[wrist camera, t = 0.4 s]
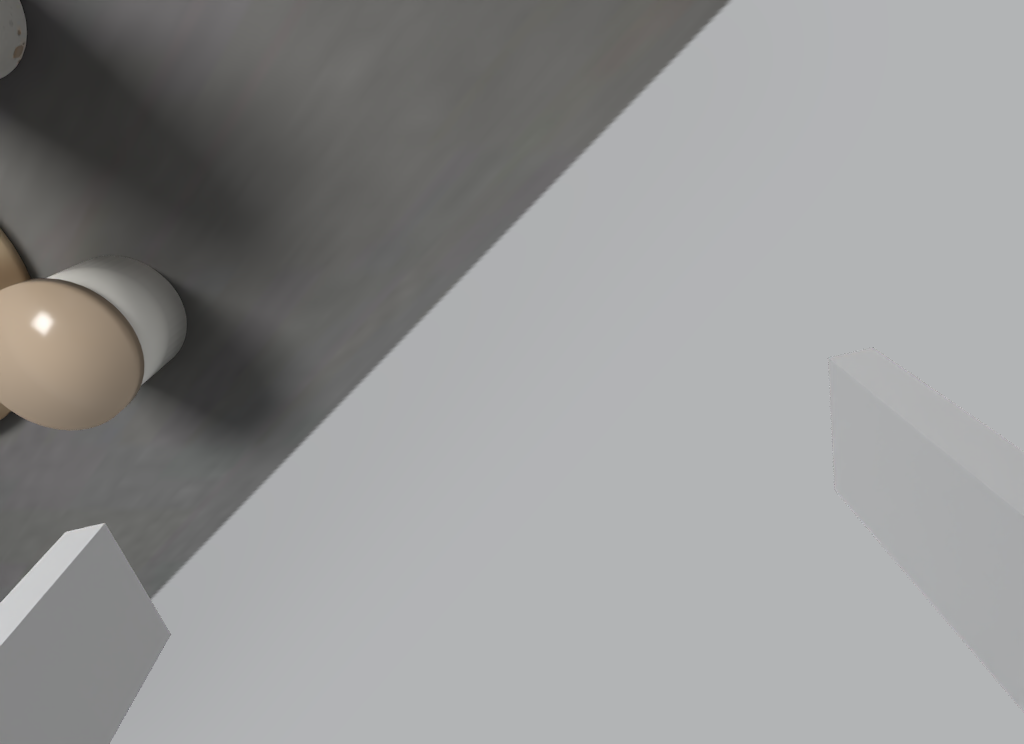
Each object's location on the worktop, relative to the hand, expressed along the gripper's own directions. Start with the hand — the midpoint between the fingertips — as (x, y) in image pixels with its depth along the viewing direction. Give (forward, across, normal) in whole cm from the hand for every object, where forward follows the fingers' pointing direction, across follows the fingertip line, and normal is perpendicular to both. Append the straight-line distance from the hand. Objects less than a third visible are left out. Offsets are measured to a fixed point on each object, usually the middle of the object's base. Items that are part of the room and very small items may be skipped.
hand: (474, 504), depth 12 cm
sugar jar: (+28, -21, -1) cm, 35 cm away
